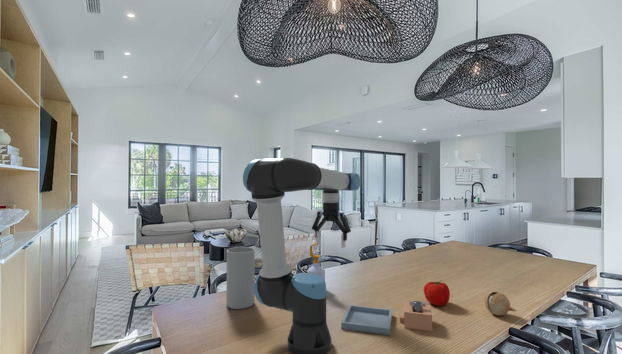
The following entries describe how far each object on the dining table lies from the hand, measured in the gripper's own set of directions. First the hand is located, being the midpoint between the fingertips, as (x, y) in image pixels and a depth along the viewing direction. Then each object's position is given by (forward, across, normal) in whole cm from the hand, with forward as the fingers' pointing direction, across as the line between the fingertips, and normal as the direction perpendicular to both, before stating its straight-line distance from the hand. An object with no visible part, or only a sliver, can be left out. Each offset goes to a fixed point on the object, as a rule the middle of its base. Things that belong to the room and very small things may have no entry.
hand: (330, 245), depth 151 cm
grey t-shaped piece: (+25, -42, +6) cm, 49 cm away
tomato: (+25, -45, -20) cm, 55 cm away
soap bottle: (+25, +12, -6) cm, 28 cm away
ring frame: (+25, -42, +6) cm, 49 cm away
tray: (+25, -25, +14) cm, 38 cm away
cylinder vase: (+26, +31, +28) cm, 49 cm away
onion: (+25, -69, -20) cm, 76 cm away
